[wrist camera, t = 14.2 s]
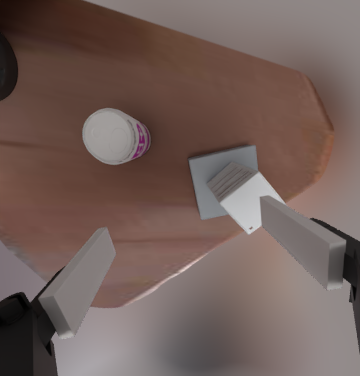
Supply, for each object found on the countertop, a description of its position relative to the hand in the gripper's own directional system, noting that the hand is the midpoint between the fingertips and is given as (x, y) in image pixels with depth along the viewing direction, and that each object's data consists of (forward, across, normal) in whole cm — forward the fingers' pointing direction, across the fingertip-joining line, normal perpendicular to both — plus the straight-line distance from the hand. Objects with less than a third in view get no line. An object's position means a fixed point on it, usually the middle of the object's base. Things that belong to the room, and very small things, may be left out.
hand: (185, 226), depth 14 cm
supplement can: (+28, -8, +9) cm, 30 cm away
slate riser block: (+28, +10, -4) cm, 30 cm away
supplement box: (+23, +10, -4) cm, 25 cm away
